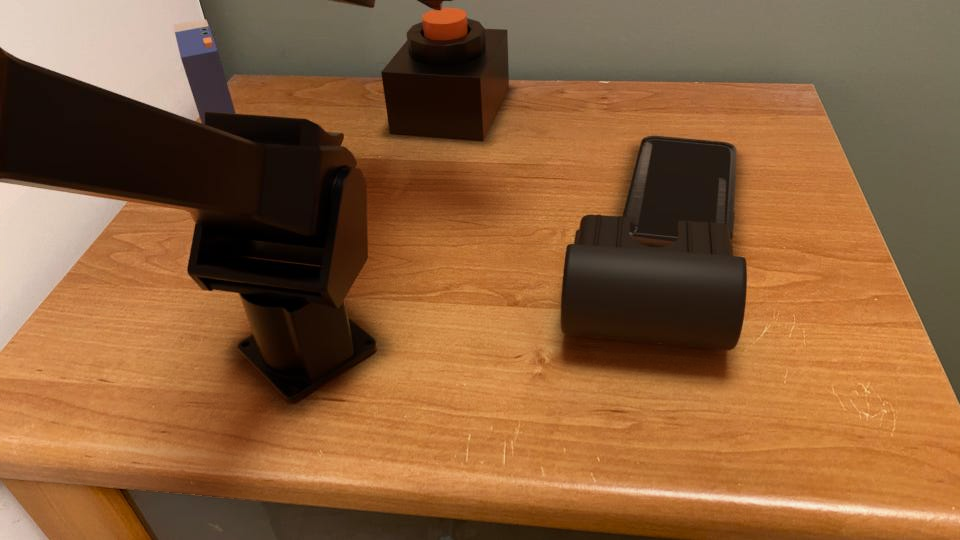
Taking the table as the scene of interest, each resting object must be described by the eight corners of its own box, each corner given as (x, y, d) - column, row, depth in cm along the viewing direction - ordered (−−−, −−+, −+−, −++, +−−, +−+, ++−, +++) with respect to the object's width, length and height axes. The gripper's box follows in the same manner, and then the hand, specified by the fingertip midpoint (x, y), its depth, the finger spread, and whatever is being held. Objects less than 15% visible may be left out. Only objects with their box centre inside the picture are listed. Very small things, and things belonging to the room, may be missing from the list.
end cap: (558, 362, 44) (560, 276, 40) (570, 287, 50) (573, 204, 45) (730, 380, 42) (751, 292, 38) (722, 300, 48) (741, 215, 43)
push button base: (483, 142, 66) (479, 57, 61) (389, 134, 68) (378, 51, 63) (509, 89, 74) (507, 10, 69) (424, 84, 76) (416, 7, 71)
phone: (617, 234, 52) (643, 133, 63) (616, 247, 53) (641, 145, 64) (733, 249, 50) (738, 142, 61) (730, 262, 51) (736, 154, 62)
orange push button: (461, 44, 64) (460, 24, 63) (418, 42, 65) (416, 22, 64) (472, 27, 67) (471, 8, 66) (431, 25, 68) (429, 6, 67)
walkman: (255, 181, 62) (216, 45, 55) (222, 189, 62) (178, 52, 54) (242, 141, 68) (205, 13, 61) (212, 148, 67) (171, 19, 60)
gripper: (503, -271, 39) (540, -96, 54) (197, -256, 43) (310, -97, 58) (474, -75, 38) (520, 47, 53) (164, -79, 42) (288, 36, 57)
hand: (406, 2), depth 56 cm, fingers open, 5 cm apart
